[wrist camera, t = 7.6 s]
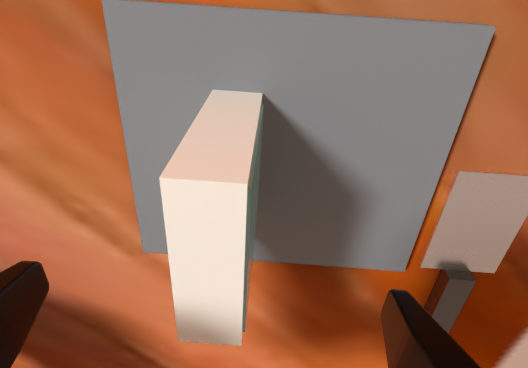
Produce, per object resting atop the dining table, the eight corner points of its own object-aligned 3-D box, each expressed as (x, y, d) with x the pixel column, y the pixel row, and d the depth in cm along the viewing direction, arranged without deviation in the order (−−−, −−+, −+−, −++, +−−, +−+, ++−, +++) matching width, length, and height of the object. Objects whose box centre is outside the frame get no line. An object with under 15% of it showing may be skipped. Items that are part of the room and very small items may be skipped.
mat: (401, 263, 19) (404, 271, 18) (146, 244, 19) (143, 252, 18) (487, 24, 13) (496, 26, 12) (108, -2, 13) (101, -1, 12)
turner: (448, 346, 23) (455, 361, 22) (387, 341, 23) (391, 356, 22) (544, 174, 16) (559, 186, 15) (456, 168, 16) (466, 178, 15)
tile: (257, 214, 17) (243, 346, 11) (215, 211, 17) (178, 341, 11) (264, 93, 14) (251, 184, 8) (212, 89, 14) (158, 177, 8)
